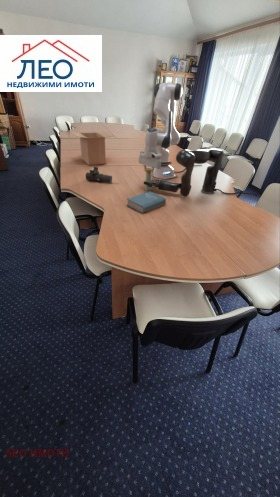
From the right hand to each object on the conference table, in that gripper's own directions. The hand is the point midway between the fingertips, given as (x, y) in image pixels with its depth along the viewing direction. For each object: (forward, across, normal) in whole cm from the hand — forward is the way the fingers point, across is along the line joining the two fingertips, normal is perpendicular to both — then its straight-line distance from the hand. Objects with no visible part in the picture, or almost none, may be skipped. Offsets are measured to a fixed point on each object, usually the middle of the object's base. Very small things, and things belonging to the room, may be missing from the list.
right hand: (144, 181), depth 178 cm
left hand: (-2, 0, -8) cm, 9 cm away
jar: (-3, 0, +6) cm, 7 cm away
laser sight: (+41, +3, +6) cm, 42 cm away
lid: (-2, 0, -10) cm, 10 cm away
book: (-12, +28, +6) cm, 31 cm away
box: (+76, -47, +6) cm, 89 cm away
